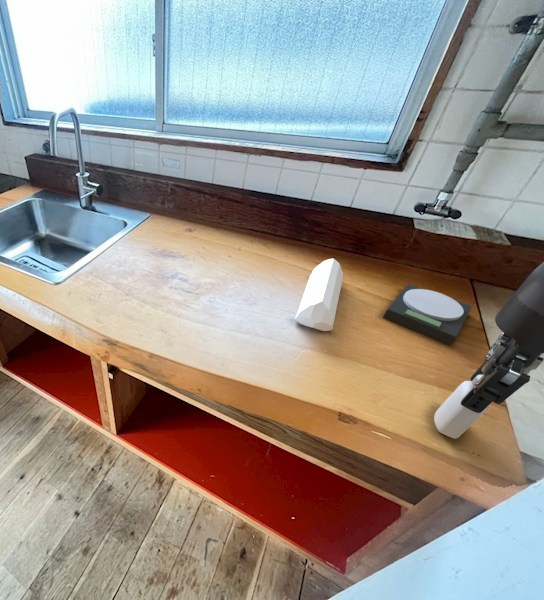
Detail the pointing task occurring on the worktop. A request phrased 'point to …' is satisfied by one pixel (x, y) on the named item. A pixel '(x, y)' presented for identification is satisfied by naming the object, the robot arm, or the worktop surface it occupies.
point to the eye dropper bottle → (456, 412)
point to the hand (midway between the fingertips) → (474, 394)
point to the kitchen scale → (428, 313)
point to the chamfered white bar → (321, 296)
